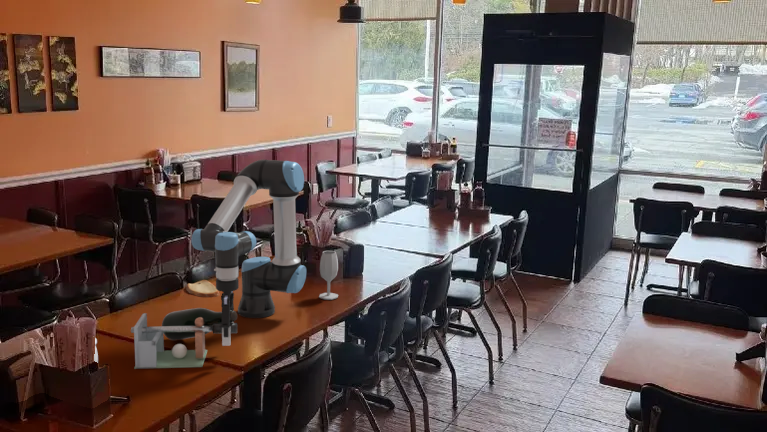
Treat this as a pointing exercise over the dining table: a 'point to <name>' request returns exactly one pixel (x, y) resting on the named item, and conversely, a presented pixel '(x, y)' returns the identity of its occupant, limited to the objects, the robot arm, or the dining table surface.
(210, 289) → the slice of bread
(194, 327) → the foosball rod
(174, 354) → the ball
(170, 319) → the dark wine bottle
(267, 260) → the robot arm
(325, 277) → the wineglass
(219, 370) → the dining table surface
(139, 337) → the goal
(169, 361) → the pitch mat
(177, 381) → the dining table surface
